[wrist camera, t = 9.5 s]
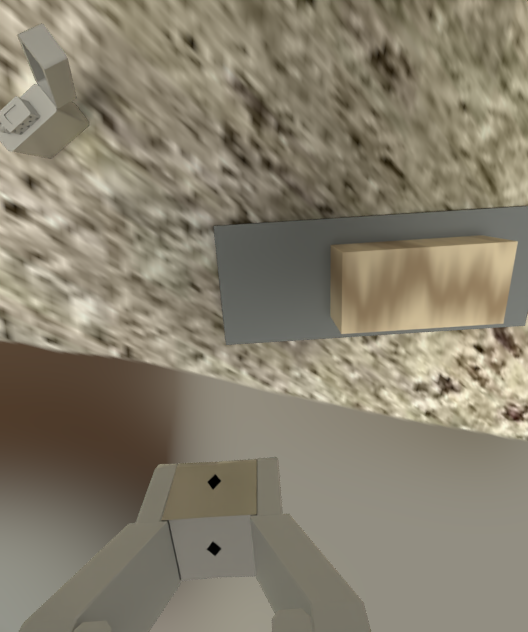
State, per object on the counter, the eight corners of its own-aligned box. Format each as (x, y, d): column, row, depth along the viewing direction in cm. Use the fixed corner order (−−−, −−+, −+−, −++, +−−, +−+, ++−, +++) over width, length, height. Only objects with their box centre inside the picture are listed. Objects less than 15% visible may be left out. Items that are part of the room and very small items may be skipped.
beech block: (342, 252, 24) (518, 241, 24) (330, 244, 27) (482, 235, 27) (341, 334, 25) (504, 323, 25) (330, 316, 29) (471, 307, 29)
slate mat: (214, 225, 27) (213, 226, 27) (543, 204, 27) (548, 204, 27) (226, 342, 30) (226, 344, 30) (520, 323, 30) (524, 325, 30)
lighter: (49, 160, 25) (-38, 144, 18) (31, 138, 25) (-67, 113, 17) (121, 97, 24) (60, 51, 17) (104, 73, 24) (33, 15, 16)
